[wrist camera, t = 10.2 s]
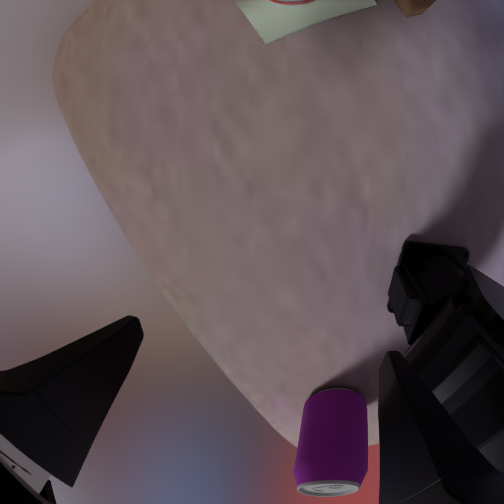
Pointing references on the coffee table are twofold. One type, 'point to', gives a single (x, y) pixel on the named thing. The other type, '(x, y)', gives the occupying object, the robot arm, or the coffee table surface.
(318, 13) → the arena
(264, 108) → the coffee table surface
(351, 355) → the coffee table surface
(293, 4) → the pill bottle
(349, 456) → the beverage can
